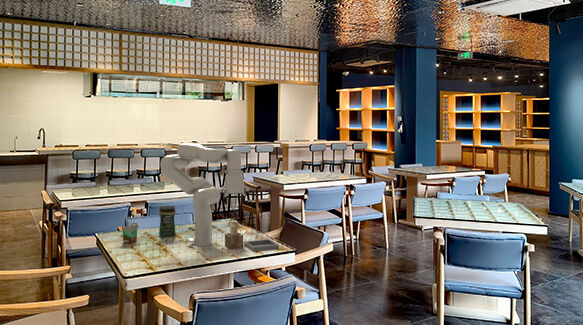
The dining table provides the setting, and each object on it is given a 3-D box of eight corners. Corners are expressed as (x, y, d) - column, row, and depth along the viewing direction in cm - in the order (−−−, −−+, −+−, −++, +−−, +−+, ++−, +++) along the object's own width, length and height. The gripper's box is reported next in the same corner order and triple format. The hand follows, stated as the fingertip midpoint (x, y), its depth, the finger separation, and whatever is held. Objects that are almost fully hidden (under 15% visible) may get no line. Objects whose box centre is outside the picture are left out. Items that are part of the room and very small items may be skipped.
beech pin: (231, 248, 254) (231, 222, 253) (229, 246, 258) (229, 221, 257) (238, 247, 256) (238, 222, 255) (236, 245, 259) (236, 220, 258)
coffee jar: (159, 237, 282) (158, 207, 281) (159, 234, 290) (158, 205, 288) (175, 236, 285) (175, 206, 283) (175, 234, 292) (175, 204, 291)
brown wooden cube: (229, 251, 252) (229, 236, 251) (224, 247, 259) (224, 233, 258) (243, 249, 255) (243, 235, 254) (238, 246, 262) (238, 232, 262)
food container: (131, 244, 266) (131, 226, 265) (121, 243, 267) (121, 226, 266) (142, 239, 278) (142, 222, 277) (133, 238, 279) (133, 222, 278)
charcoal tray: (252, 252, 249) (252, 247, 248) (244, 246, 261) (244, 241, 261) (278, 250, 255) (278, 244, 254) (269, 244, 267) (269, 239, 267)
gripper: (220, 173, 247) (220, 205, 248) (251, 172, 254) (251, 203, 255) (216, 172, 254) (216, 203, 255) (247, 171, 261) (247, 201, 262)
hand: (234, 203), depth 255 cm, fingers open, 9 cm apart
